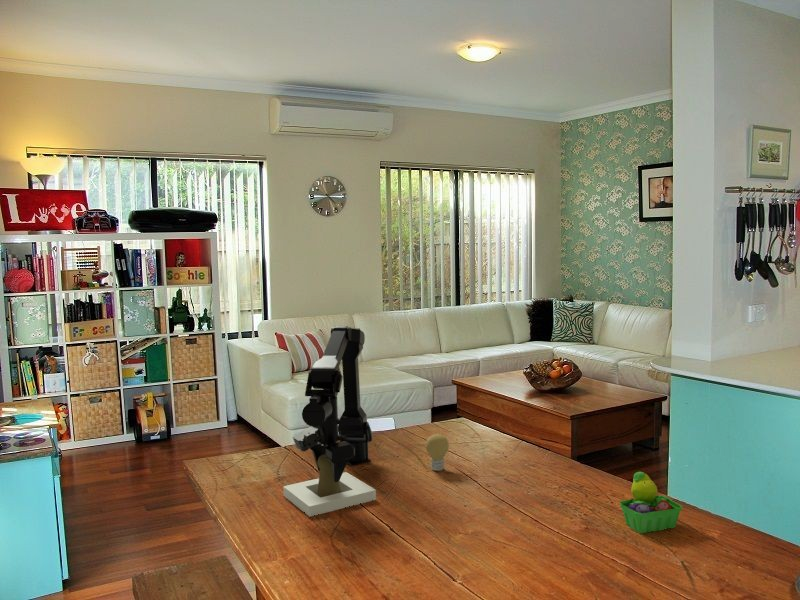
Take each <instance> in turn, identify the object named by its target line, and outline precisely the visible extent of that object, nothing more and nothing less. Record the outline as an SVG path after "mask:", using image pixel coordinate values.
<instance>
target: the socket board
mask: <svg viewBox="0 0 800 600" xmlns="http://www.w3.org/2000/svg"><path fill="white" fill-rule="evenodd" d="M318 484H319V477H318V478H315V479H309V480H305V481H300V482H296V483H292V484H287V485H284V486H283V488H282V489H283V496H285V497H284V498H286V499H287V500H288V501H290V503H292V504H293V505H294V506H295V507H297V508H298V509H299V510H300V511H302V512H303V513H304V512H305V514H306V516H308V517H309V518H310V517H314V515H315V516H318V514H319V515H322V514H326V513H330V512H335V511H338V510H341V509H344V508H345V507H346V508H350V507H353V505H354V506H357V505H361V504H365V503H368V502H373V501H377V490H376V488H374V487H372V486H370V485H368V484H366V483H365V482H364V481H362V480H360V479H358V478H357V477H355V476H354V475H351V474H350V473H348V472H347V471H345V472H344V471H343V474H342V476H341V478H340V480H339V487H340V493H337V494H333V495H329V496H325V497H321V498H320V497H319V496H317V494H318ZM372 500H373V501H372ZM360 503H361V504H360ZM349 506H350V507H349Z"/></svg>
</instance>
